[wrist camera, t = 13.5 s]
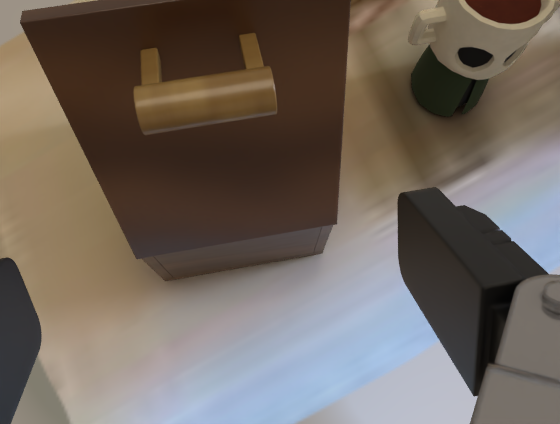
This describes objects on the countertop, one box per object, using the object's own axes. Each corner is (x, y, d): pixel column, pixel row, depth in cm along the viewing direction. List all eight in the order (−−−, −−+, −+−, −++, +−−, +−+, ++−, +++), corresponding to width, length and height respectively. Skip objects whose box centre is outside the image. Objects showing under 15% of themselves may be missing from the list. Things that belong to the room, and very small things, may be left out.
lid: (21, 10, 20) (3, 96, 17) (347, -36, 21) (384, 38, 18) (136, 248, 33) (137, 321, 30) (334, 214, 34) (354, 281, 31)
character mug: (395, 134, 46) (440, 42, 34) (374, 63, 48) (410, -47, 36) (515, 112, 47) (603, 15, 34) (489, 44, 49) (563, -71, 36)
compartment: (144, 106, 46) (115, 45, 38) (286, 84, 47) (289, 19, 39) (165, 281, 42) (137, 255, 33) (322, 253, 43) (334, 221, 34)
